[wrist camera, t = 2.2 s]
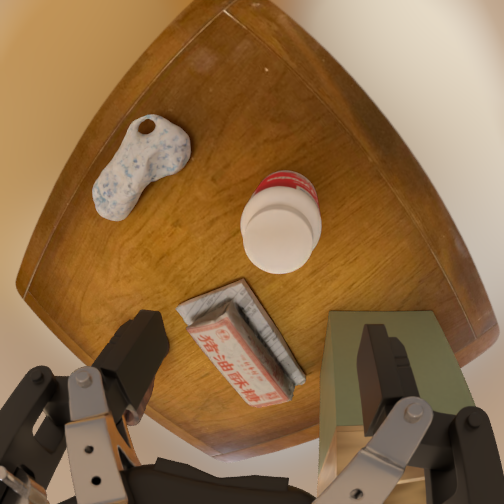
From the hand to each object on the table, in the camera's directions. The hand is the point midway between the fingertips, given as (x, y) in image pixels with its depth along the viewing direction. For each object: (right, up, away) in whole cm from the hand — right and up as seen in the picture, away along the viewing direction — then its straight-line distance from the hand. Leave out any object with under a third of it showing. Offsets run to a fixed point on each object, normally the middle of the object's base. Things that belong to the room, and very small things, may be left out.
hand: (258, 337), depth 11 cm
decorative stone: (-12, +12, +20) cm, 26 cm away
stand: (+16, -9, +25) cm, 31 cm away
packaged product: (-1, -9, +28) cm, 29 cm away
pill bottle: (+3, +9, +19) cm, 21 cm away
